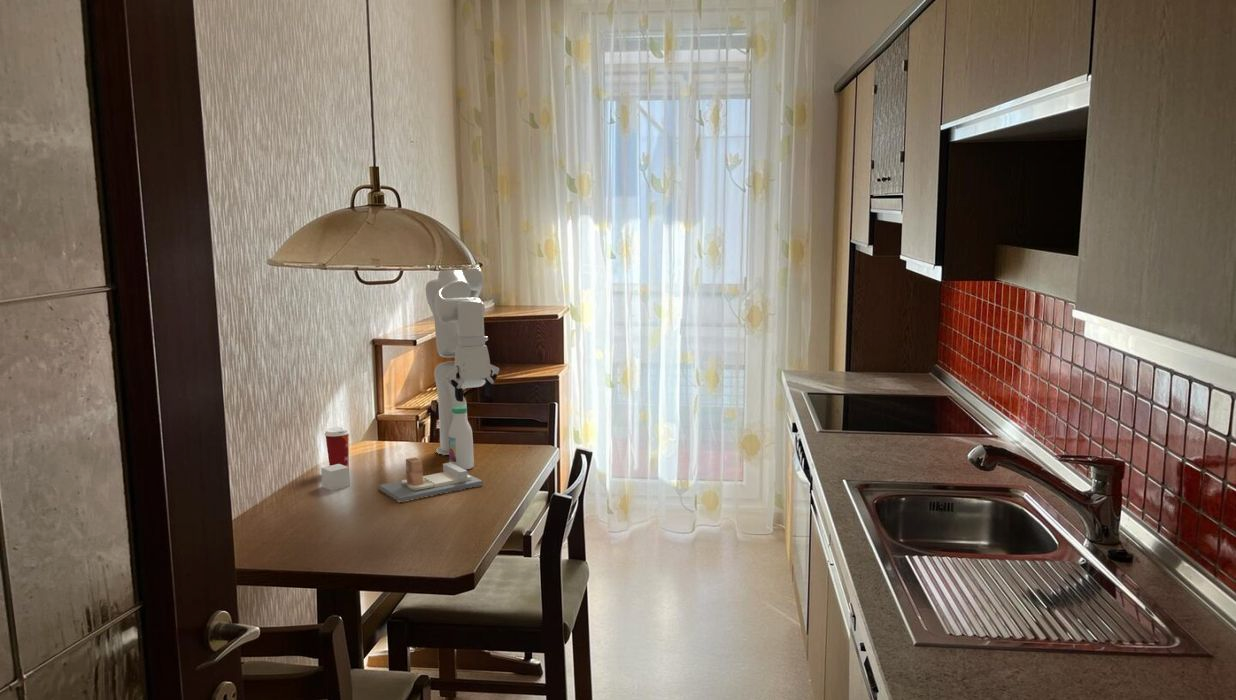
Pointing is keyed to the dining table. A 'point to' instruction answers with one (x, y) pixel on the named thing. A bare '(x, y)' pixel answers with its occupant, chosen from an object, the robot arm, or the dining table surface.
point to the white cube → (335, 477)
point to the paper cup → (338, 445)
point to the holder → (442, 482)
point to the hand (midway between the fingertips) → (474, 398)
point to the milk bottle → (461, 439)
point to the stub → (415, 475)
